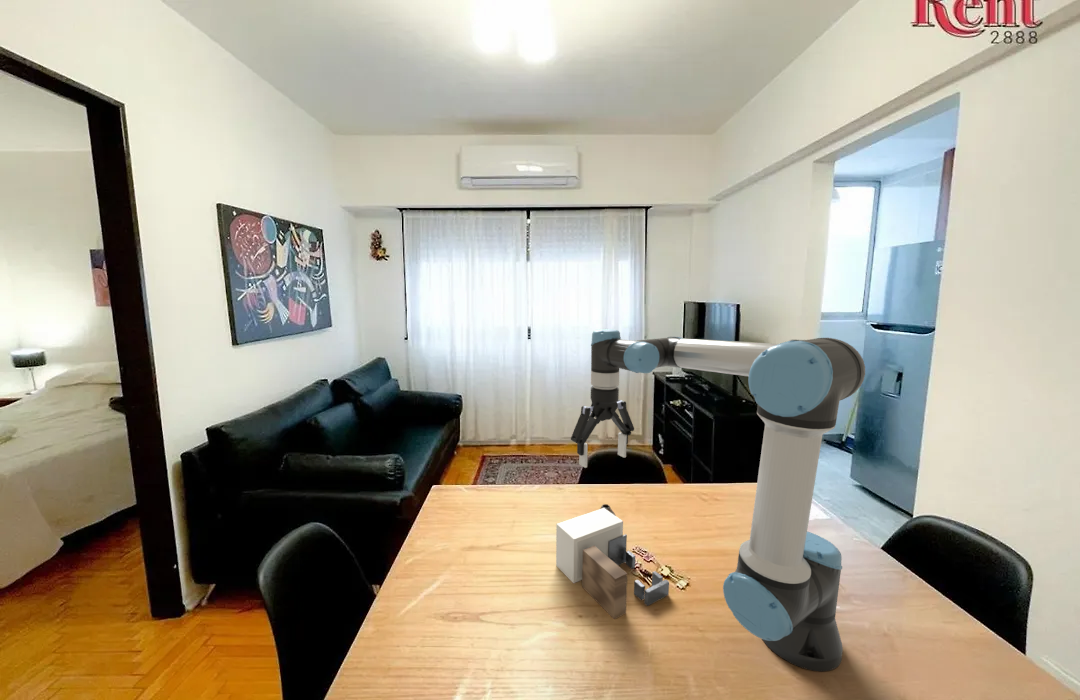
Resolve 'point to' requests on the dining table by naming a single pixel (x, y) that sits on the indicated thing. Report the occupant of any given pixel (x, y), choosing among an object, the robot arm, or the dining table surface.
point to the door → (604, 581)
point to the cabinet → (584, 539)
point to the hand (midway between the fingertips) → (603, 460)
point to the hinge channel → (621, 556)
